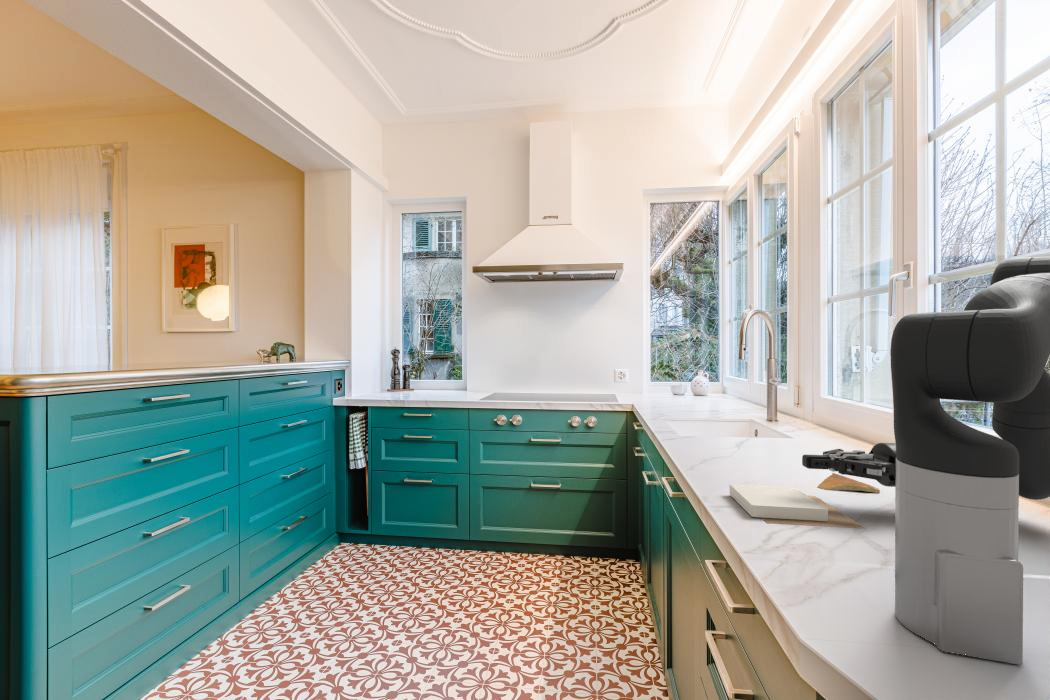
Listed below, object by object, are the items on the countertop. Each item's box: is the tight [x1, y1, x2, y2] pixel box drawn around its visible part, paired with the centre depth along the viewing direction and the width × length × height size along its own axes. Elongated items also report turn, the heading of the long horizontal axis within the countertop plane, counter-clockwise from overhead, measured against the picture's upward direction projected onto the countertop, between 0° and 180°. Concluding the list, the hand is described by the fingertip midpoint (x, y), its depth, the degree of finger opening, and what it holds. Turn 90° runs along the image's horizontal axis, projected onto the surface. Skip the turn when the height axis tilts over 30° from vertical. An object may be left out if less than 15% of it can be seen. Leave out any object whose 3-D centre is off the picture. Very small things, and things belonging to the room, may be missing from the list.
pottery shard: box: [816, 472, 881, 494], centre depth 94 cm, size 10×9×2 cm
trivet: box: [760, 495, 865, 529], centre depth 81 cm, size 16×15×1 cm
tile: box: [729, 483, 828, 521], centre depth 82 cm, size 12×2×12 cm
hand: (804, 461), depth 81 cm, fingers closed
